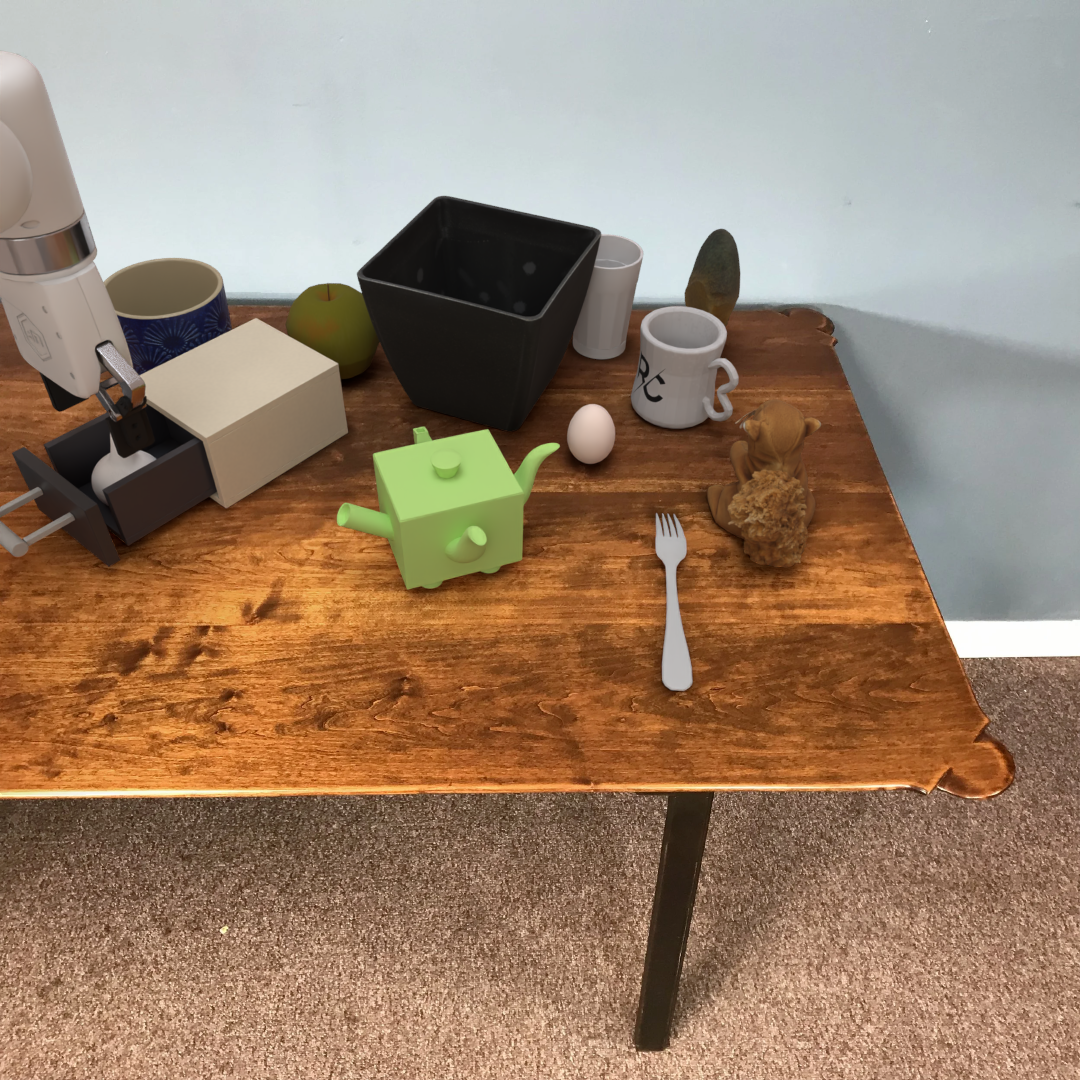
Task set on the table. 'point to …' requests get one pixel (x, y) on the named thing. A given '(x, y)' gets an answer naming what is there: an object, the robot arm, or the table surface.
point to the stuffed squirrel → (768, 486)
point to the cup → (609, 299)
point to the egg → (591, 434)
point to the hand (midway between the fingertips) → (104, 426)
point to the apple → (334, 326)
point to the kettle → (448, 506)
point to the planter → (168, 308)
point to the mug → (681, 368)
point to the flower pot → (478, 306)
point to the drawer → (110, 487)
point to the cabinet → (251, 404)
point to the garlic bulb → (116, 469)
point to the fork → (673, 608)
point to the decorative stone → (715, 276)
